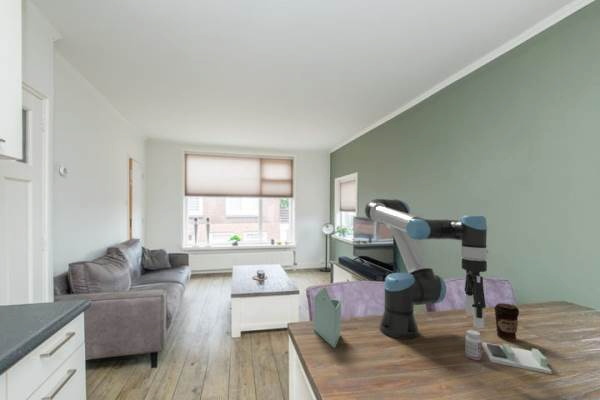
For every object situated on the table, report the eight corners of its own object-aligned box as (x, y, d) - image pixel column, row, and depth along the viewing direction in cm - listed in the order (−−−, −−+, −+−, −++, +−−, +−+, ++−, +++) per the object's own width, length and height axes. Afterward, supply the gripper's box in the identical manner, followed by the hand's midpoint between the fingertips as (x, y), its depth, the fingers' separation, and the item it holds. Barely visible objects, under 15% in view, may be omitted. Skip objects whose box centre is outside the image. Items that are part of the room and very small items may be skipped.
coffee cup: (525, 344, 106) (525, 310, 106) (500, 341, 107) (501, 308, 108) (512, 334, 114) (512, 303, 115) (490, 332, 116) (490, 301, 116)
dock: (491, 362, 92) (491, 351, 92) (481, 344, 104) (481, 335, 104) (551, 374, 86) (551, 362, 86) (534, 354, 98) (534, 344, 98)
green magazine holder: (351, 344, 102) (353, 290, 102) (333, 348, 98) (335, 292, 99) (329, 326, 117) (330, 280, 117) (313, 329, 113) (314, 281, 114)
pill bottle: (481, 361, 92) (481, 336, 92) (465, 357, 95) (465, 332, 95) (481, 355, 96) (481, 331, 96) (465, 351, 99) (465, 328, 99)
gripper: (497, 265, 84) (497, 336, 83) (478, 255, 107) (478, 310, 106) (468, 263, 86) (468, 331, 85) (456, 253, 110) (456, 307, 109)
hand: (474, 319), depth 96 cm, fingers open, 13 cm apart
